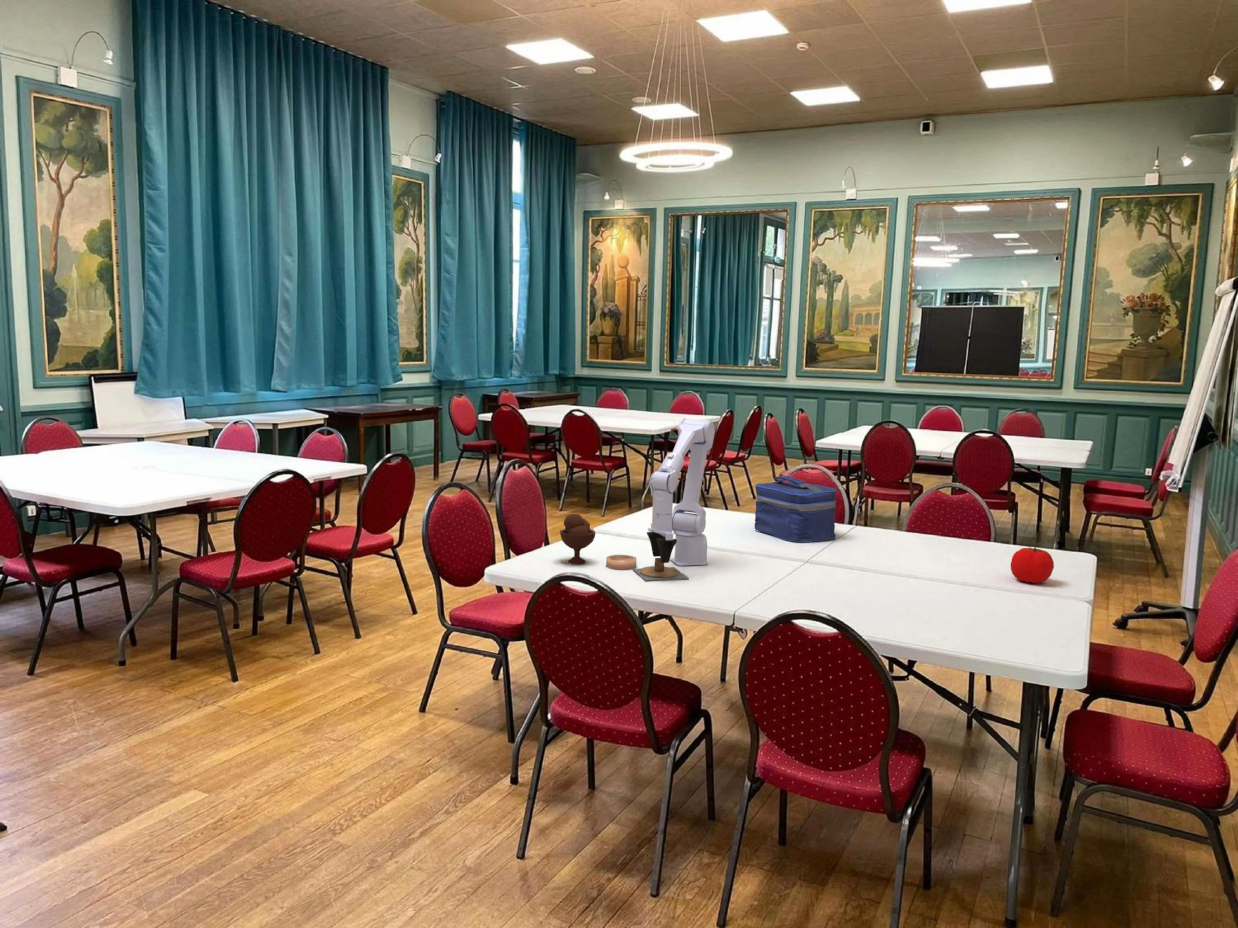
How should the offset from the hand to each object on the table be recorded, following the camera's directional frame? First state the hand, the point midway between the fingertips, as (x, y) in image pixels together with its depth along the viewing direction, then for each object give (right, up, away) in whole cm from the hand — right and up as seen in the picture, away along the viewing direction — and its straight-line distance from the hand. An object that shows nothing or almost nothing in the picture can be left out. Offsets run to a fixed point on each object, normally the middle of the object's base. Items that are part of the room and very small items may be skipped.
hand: (660, 559), depth 264 cm
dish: (-11, -3, +9) cm, 15 cm away
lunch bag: (+51, +2, +64) cm, 81 cm away
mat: (0, -5, 0) cm, 5 cm away
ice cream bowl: (-25, -2, +13) cm, 28 cm away
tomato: (+109, -7, +5) cm, 110 cm away
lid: (0, -4, 0) cm, 4 cm away
